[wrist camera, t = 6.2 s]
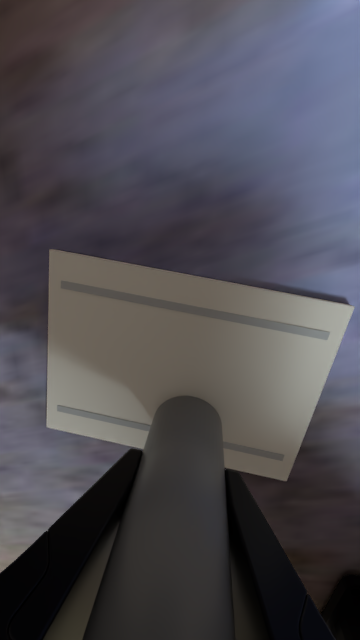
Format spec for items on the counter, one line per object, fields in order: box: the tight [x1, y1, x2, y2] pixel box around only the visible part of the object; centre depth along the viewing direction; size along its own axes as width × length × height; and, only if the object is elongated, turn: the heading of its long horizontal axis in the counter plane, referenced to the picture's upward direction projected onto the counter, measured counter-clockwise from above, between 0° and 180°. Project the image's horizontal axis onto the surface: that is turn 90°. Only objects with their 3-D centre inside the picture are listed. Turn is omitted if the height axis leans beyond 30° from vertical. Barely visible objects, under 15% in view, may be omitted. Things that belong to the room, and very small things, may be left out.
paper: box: [47, 249, 355, 482], centre depth 11 cm, size 8×11×1 cm
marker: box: [82, 396, 235, 640], centre depth 6 cm, size 3×3×9 cm
